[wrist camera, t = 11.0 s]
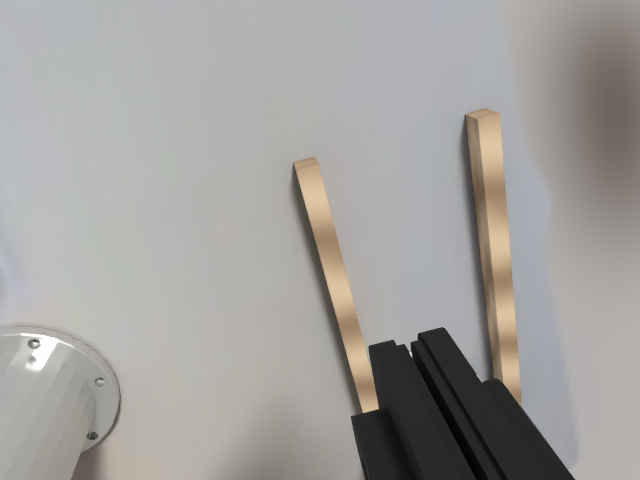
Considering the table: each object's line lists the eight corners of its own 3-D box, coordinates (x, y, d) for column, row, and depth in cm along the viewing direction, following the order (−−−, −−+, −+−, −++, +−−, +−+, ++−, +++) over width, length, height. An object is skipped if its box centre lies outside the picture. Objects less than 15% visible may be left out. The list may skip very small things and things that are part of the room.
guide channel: (510, 391, 46) (521, 406, 44) (368, 434, 45) (373, 451, 44) (485, 108, 34) (499, 113, 32) (293, 162, 34) (296, 171, 32)
